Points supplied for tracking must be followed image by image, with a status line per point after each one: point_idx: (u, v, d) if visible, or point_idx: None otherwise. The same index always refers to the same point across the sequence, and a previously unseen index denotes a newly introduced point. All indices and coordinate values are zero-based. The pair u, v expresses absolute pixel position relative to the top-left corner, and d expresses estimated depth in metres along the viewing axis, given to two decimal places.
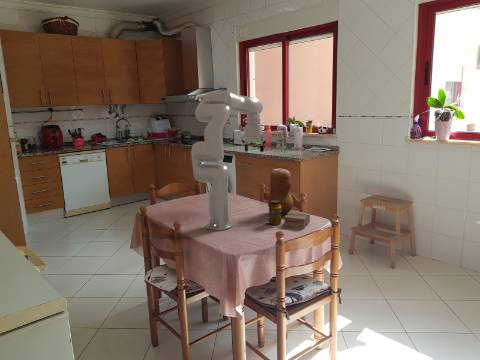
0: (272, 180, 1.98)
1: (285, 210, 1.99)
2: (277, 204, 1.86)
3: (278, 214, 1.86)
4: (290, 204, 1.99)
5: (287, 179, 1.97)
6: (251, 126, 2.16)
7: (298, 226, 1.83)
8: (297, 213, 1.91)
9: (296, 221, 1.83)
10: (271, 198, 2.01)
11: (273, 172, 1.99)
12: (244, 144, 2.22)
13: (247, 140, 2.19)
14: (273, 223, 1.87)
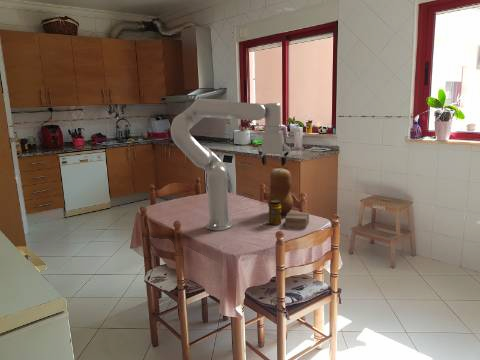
0: (272, 180, 1.98)
1: (285, 210, 1.99)
2: (277, 204, 1.86)
3: (277, 214, 1.86)
4: (290, 204, 1.99)
5: (287, 179, 1.97)
6: (270, 134, 1.78)
7: (299, 226, 1.83)
8: (296, 213, 1.91)
9: (297, 221, 1.83)
10: (271, 198, 2.01)
11: (273, 172, 1.99)
12: (261, 156, 1.84)
13: (265, 151, 1.81)
14: (273, 223, 1.87)
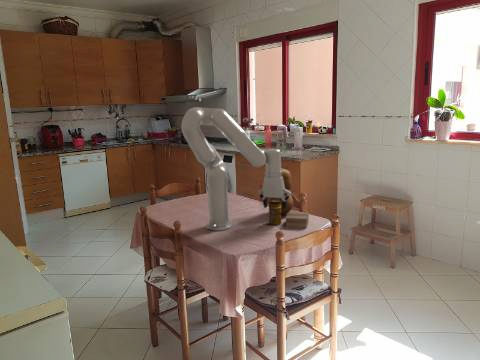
0: None
1: (285, 210, 1.99)
2: (277, 204, 1.86)
3: (277, 214, 1.86)
4: (290, 204, 1.99)
5: (287, 179, 1.97)
6: (271, 179, 1.83)
7: (300, 226, 1.83)
8: (295, 213, 1.91)
9: (298, 221, 1.83)
10: (271, 198, 2.01)
11: None
12: (263, 199, 1.89)
13: (266, 195, 1.85)
14: (273, 223, 1.87)
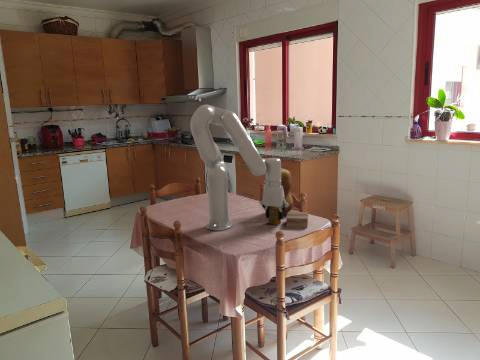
0: None
1: (285, 210, 1.99)
2: None
3: (277, 214, 1.87)
4: (290, 204, 1.99)
5: (287, 179, 1.97)
6: (271, 188, 1.83)
7: (301, 226, 1.83)
8: (295, 213, 1.91)
9: (298, 221, 1.83)
10: None
11: None
12: (265, 210, 1.89)
13: (266, 204, 1.86)
14: (273, 223, 1.88)
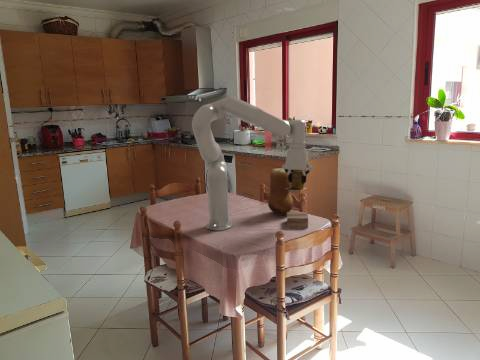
0: (272, 180, 1.98)
1: (285, 210, 1.99)
2: None
3: (301, 178, 1.81)
4: (290, 204, 1.99)
5: (287, 179, 1.97)
6: (295, 151, 1.78)
7: (301, 226, 1.83)
8: (294, 213, 1.91)
9: (299, 221, 1.83)
10: (271, 198, 2.01)
11: (273, 172, 1.99)
12: (288, 174, 1.84)
13: (289, 168, 1.81)
14: (296, 187, 1.82)
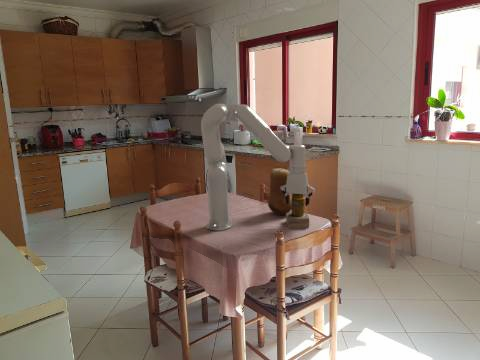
0: (272, 180, 1.98)
1: (285, 210, 1.99)
2: (300, 195, 1.83)
3: (301, 205, 1.84)
4: (290, 204, 1.99)
5: None
6: (295, 175, 1.81)
7: (303, 226, 1.83)
8: None
9: (300, 222, 1.83)
10: (271, 198, 2.01)
11: (273, 172, 1.99)
12: (285, 195, 1.87)
13: (290, 191, 1.84)
14: (296, 214, 1.85)
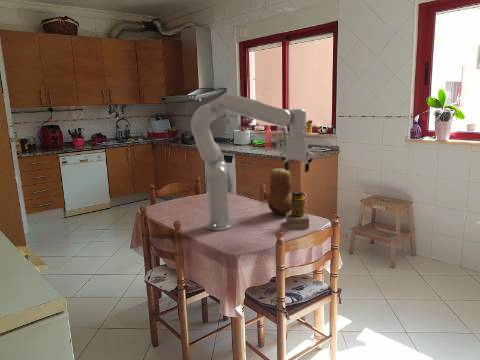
0: (272, 180, 1.98)
1: (285, 210, 1.99)
2: (300, 195, 1.83)
3: (300, 206, 1.83)
4: (290, 204, 1.99)
5: (287, 179, 1.97)
6: (295, 141, 1.77)
7: (302, 226, 1.83)
8: None
9: (300, 222, 1.82)
10: (271, 198, 2.01)
11: (273, 172, 1.99)
12: (285, 162, 1.83)
13: (289, 157, 1.80)
14: (296, 215, 1.84)
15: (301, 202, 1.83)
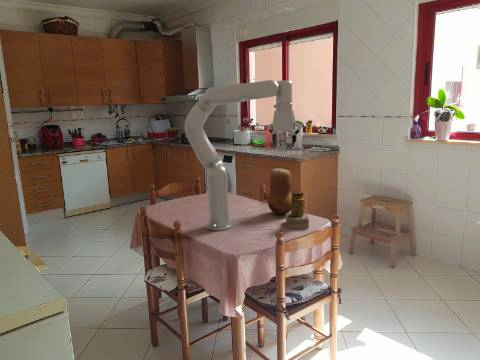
0: (272, 180, 1.98)
1: (285, 210, 1.99)
2: (300, 196, 1.82)
3: (300, 206, 1.83)
4: (290, 204, 1.99)
5: (287, 179, 1.97)
6: (281, 112, 1.78)
7: (302, 227, 1.82)
8: None
9: (300, 222, 1.82)
10: (271, 198, 2.01)
11: (273, 172, 1.99)
12: (272, 134, 1.84)
13: (276, 129, 1.81)
14: (296, 215, 1.84)
15: (301, 202, 1.83)
